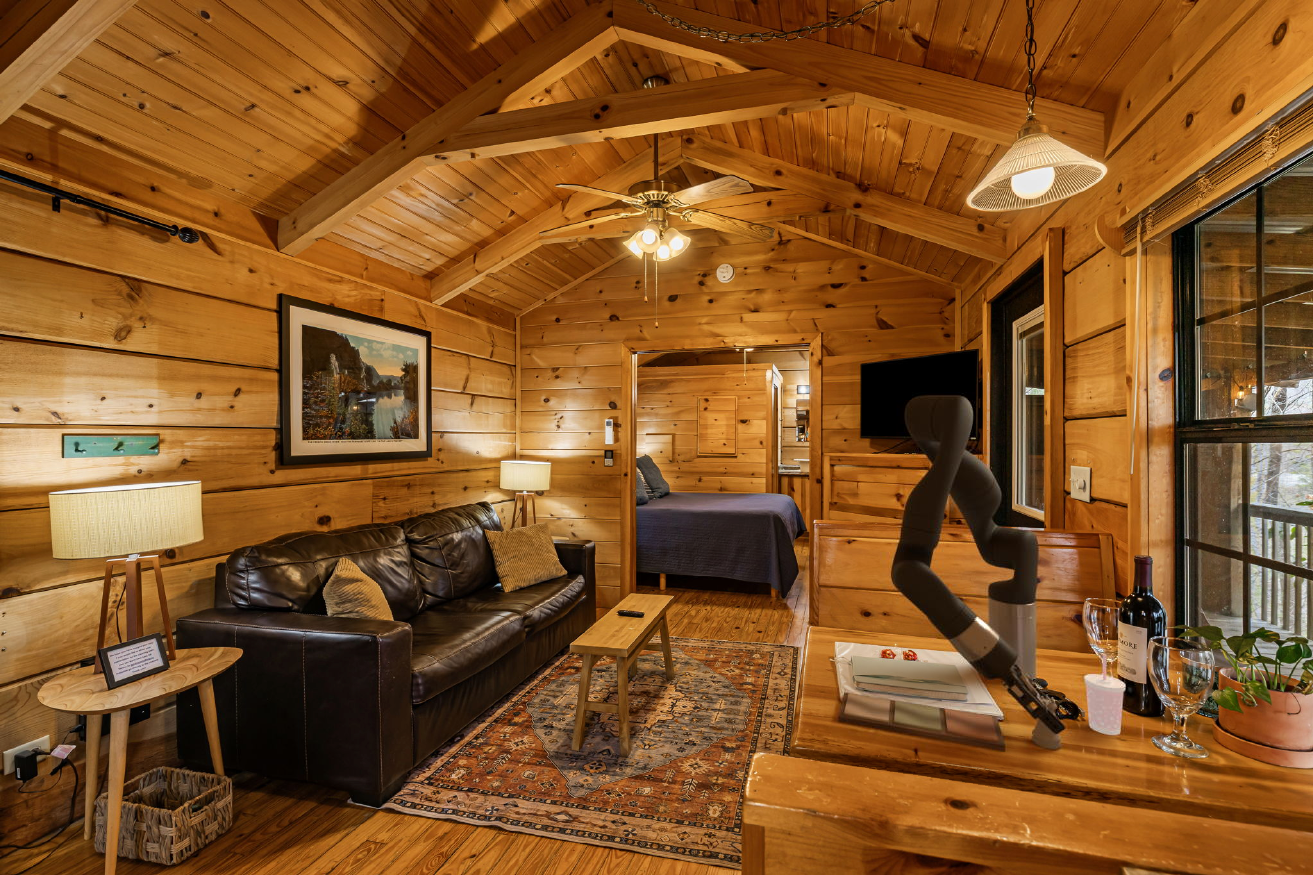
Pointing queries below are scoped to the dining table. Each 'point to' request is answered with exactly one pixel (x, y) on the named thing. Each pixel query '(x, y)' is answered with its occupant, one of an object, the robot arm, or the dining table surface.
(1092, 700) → the beverage cup
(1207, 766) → the dining table surface
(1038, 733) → the rook chess piece
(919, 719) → the tile board
